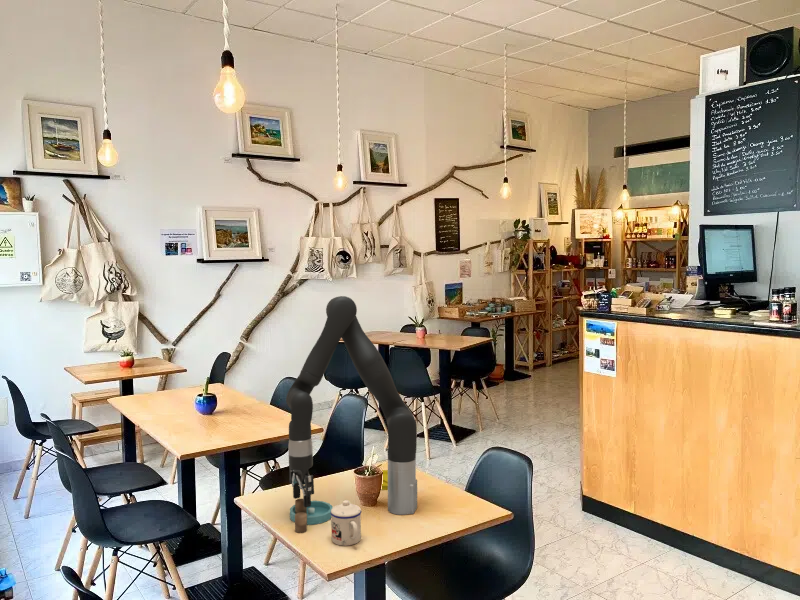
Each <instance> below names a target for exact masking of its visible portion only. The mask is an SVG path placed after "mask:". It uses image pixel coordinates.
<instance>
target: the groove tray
mask: <svg viewBox="0 0 800 600" xmlns="http://www.w3.org/2000/svg"><path fill="white" fill-rule="evenodd" d="M333 507H334V506H333V505H332V504H331V503H330V502H326V501H323V500H311V506H309V507H307V526H314V525H319V524H324V523H326V522H328V521H330V520H331V509H332V508H333ZM289 519H290V521H291V522H293V523H295V504H293V505H292V506H291V507H290V508H289Z"/></svg>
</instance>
